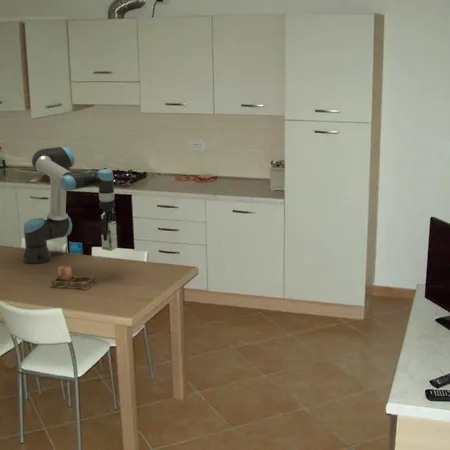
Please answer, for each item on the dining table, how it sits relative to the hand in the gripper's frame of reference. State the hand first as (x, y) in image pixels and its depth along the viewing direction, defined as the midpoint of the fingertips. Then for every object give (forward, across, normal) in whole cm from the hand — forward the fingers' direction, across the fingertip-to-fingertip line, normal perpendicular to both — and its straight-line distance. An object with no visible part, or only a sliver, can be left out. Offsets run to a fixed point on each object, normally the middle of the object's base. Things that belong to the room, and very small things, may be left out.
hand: (109, 244), depth 355 cm
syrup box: (+3, 0, 0) cm, 3 cm away
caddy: (+19, -13, +15) cm, 27 cm away
